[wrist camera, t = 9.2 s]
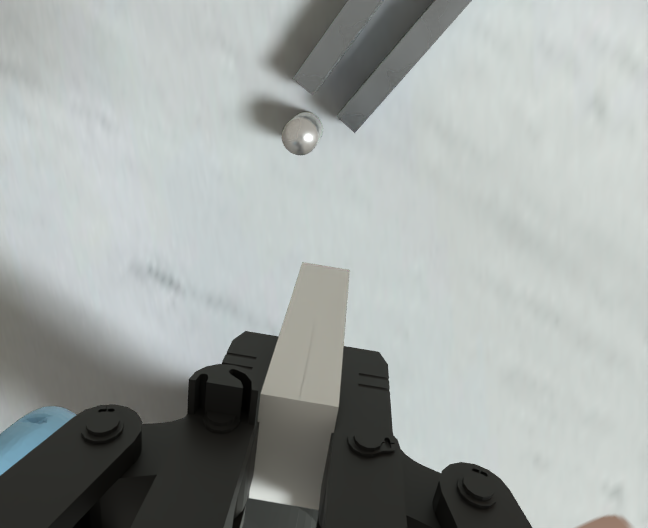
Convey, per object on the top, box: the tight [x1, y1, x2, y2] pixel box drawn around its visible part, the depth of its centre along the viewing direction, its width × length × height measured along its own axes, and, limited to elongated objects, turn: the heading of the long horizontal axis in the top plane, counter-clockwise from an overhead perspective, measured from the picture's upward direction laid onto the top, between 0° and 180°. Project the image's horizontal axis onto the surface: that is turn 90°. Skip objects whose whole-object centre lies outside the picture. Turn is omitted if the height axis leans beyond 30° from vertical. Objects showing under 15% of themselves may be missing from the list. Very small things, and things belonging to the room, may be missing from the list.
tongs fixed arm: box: [282, 0, 472, 155], centre depth 30 cm, size 21×4×3 cm, turn 139°
